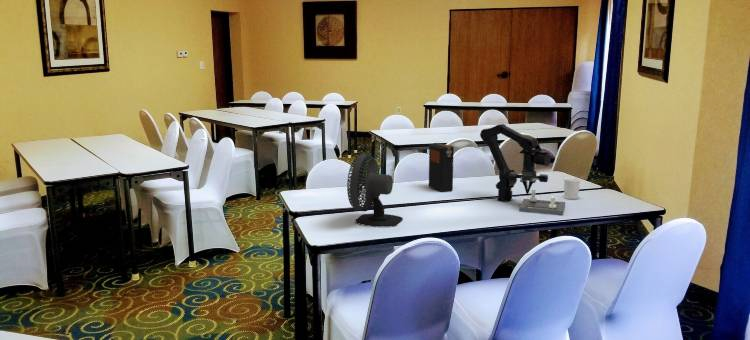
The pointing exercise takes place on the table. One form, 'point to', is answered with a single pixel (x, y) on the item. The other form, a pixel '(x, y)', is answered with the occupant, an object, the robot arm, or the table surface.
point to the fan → (369, 191)
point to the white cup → (571, 188)
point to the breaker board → (541, 207)
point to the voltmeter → (441, 166)
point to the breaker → (552, 202)
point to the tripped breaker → (533, 196)
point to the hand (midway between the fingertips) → (527, 193)
